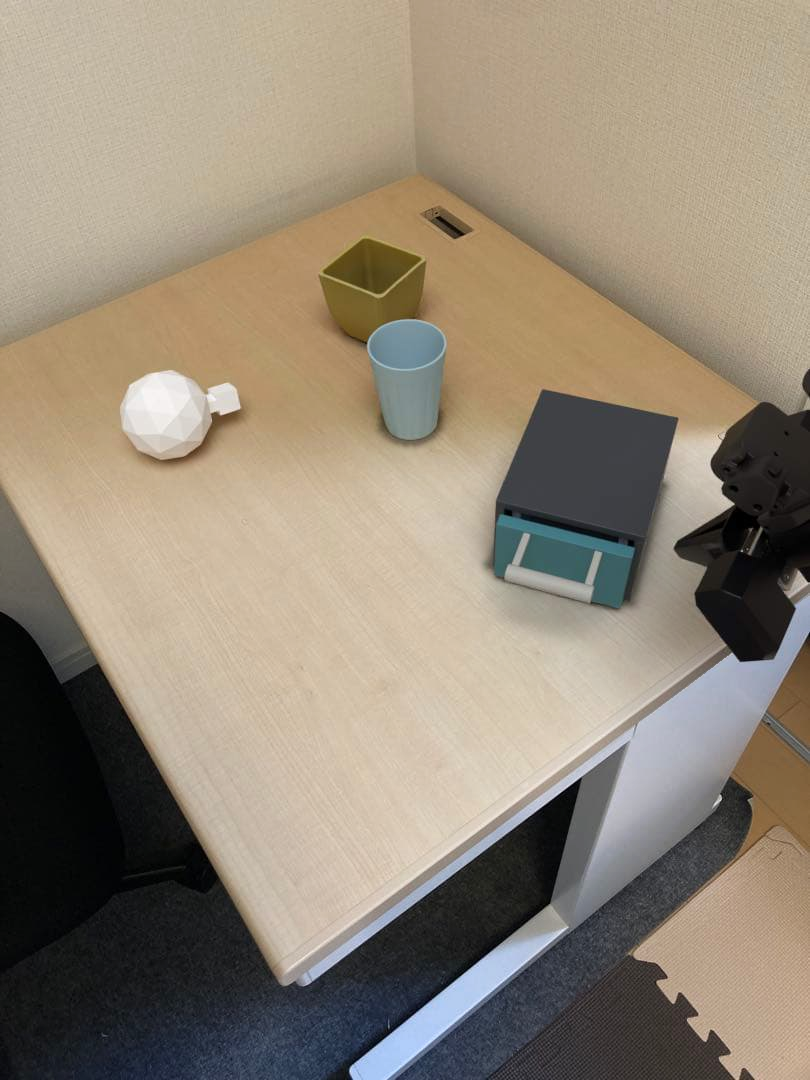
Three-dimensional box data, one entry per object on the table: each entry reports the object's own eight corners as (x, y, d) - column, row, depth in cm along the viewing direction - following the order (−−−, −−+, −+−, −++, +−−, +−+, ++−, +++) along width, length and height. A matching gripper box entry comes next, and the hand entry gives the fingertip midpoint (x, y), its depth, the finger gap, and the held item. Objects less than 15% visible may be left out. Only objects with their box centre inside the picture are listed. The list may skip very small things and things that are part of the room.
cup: (460, 408, 96) (459, 329, 88) (429, 456, 92) (425, 378, 84) (396, 389, 99) (390, 311, 91) (363, 435, 95) (353, 357, 87)
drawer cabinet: (629, 601, 80) (645, 537, 73) (492, 565, 83) (495, 500, 76) (661, 484, 88) (678, 417, 81) (536, 455, 92) (542, 388, 85)
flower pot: (370, 299, 109) (364, 232, 102) (430, 323, 106) (428, 255, 99) (325, 339, 105) (315, 272, 98) (386, 365, 102) (380, 298, 95)
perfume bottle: (148, 485, 89) (259, 445, 94) (122, 399, 84) (241, 362, 89) (122, 455, 96) (227, 420, 101) (97, 374, 91) (208, 341, 96)
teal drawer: (607, 655, 76) (619, 604, 70) (476, 618, 79) (478, 566, 73) (651, 497, 86) (664, 442, 80) (534, 470, 89) (539, 414, 83)
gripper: (866, 313, 56) (665, 390, 69) (769, 513, 47) (557, 560, 59) (949, 446, 60) (742, 496, 72) (874, 659, 50) (652, 674, 63)
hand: (678, 549), depth 66 cm, fingers closed
